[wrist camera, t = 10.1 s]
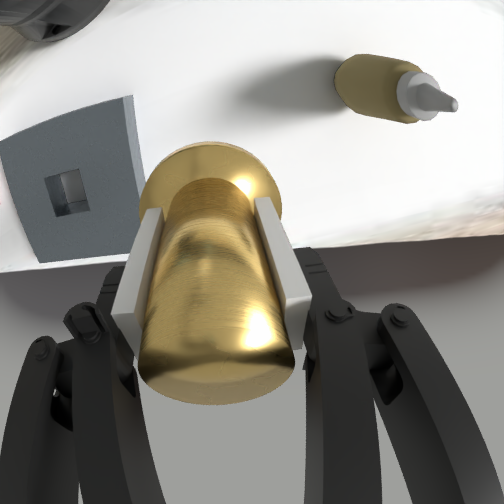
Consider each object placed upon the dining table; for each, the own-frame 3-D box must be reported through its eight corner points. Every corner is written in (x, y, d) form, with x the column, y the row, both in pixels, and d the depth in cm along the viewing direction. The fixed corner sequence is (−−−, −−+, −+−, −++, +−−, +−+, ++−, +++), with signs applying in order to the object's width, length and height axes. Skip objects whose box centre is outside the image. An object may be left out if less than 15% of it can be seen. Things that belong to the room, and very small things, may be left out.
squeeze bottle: (323, 51, 26) (418, 45, 12) (378, 58, 27) (482, 70, 12) (325, 110, 31) (414, 149, 16) (378, 112, 31) (475, 155, 17)
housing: (49, 248, 36) (39, 263, 33) (13, 134, 25) (-3, 142, 21) (156, 234, 38) (152, 250, 35) (132, 94, 26) (122, 97, 23)
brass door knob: (133, 192, 17) (55, 371, 6) (205, 105, 15) (186, 189, 4) (215, 249, 21) (229, 429, 10) (288, 180, 19) (388, 346, 8)
